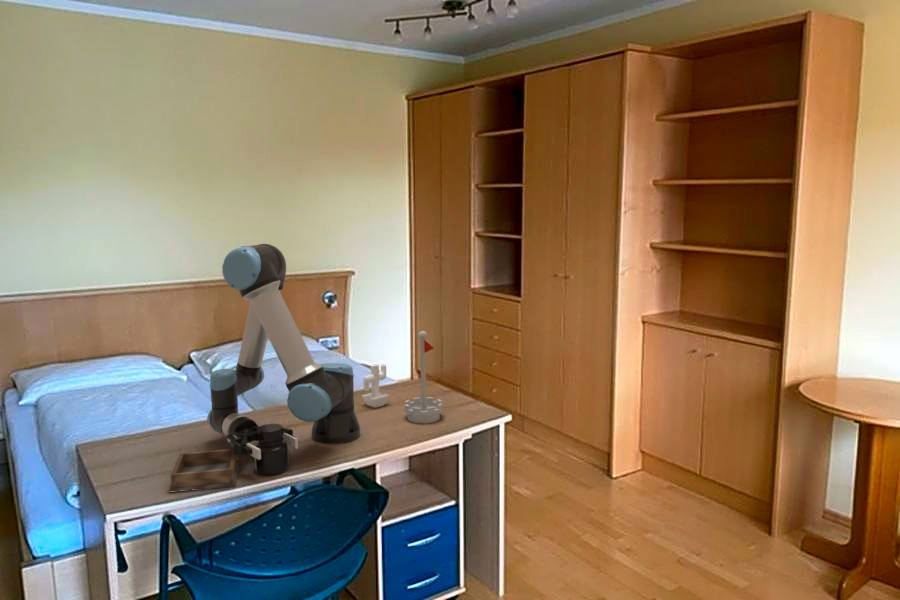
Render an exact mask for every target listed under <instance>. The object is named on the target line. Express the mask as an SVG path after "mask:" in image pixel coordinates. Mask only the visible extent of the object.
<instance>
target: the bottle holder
mask: <svg viewBox="0 0 900 600" xmlns="http://www.w3.org/2000/svg"><path fill="white" fill-rule="evenodd" d="M240 460H241V459H240V458H239V459H238V454H234V452H233V450H232V448H229V449H228V448H227V449H225V448H224V449H217V450H216V449H215V450H204V451H203V450H202V451H195V452H183V453H179V455H178V458H177V460H176V462H175V464H174V467H173V470H172V472H171V474H170V481H171V484H170V487H169V492H170V491H180V490H192V489H205V490H211V489H212V488H215V489H221V488H222V489H224V488H232V487H233V488H234V487H236V485H237V480H238V476H237V475H238V474H239V469H240V465H239V464H240V463H241V461H240ZM209 488H210V489H209ZM212 490H213V489H212Z"/></svg>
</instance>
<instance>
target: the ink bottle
mask: <svg viewBox="0 0 900 600" xmlns="http://www.w3.org/2000/svg"><path fill="white" fill-rule="evenodd" d="M283 428H284V426H283V425H282V424H280V423H266V424H263V425H260V426H258V428H257V435H258V440H257V442H258V443H257V445H255V447H257V448H259V449H261V459H260V460H258V459H256V458H254V470H255V473H257V474H259V475H263V476H274V475H278V474H280V473H283V472H285V471H287V470H288V468H289V445H287V444H286V443H285V442H284V441H283Z"/></svg>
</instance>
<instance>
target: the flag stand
mask: <svg viewBox="0 0 900 600" xmlns="http://www.w3.org/2000/svg"><path fill="white" fill-rule="evenodd" d="M427 333H428V332H426V331H425V330H421V331H419V332H418V338H419V340H420V383H421V384H420V395H421V396H419V397H418V396H417V397H413V398H412V401H411V400H410V399H407V400H405V401H404V407H403V408H404V409H403V411H404V412H405V413H406V414H407V420H408V421H409V422H411V423H415V424H416V423H417V424H430V423H434V422H437V421H439V420H440V419H441V412H442V411H443V409H444V405H443V400H442V399H440V398H438V399H436V400H434V398H435V397H432V396H426V395H427V394H426V393H427V388H426V387H427V386H426V385H427V384H426V375H427V374H426V353H427V352H429V351H431V350H434V349H435V348H434V347H433V346H432V344H430V343H429V342H427V341H426V339H427V337H428V334H427Z"/></svg>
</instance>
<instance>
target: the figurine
mask: <svg viewBox="0 0 900 600" xmlns="http://www.w3.org/2000/svg"><path fill="white" fill-rule="evenodd" d="M386 379H387V365H386V364H385V363H381V365H379V364H371V365H370V374H367V375H365V376H363V390H364V391H365V392H369V391H370V390H371V392H369V393H365V394H362V395H361V397H362V399H363V401H364V402H365V404H366V406H369V407H370V408H379V407H382V406H385V405H386V403H387V401H388V399H389V398H390V394H387V393H384V392H381V391H380V381H383V380H386ZM370 385H371V389H370Z"/></svg>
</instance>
